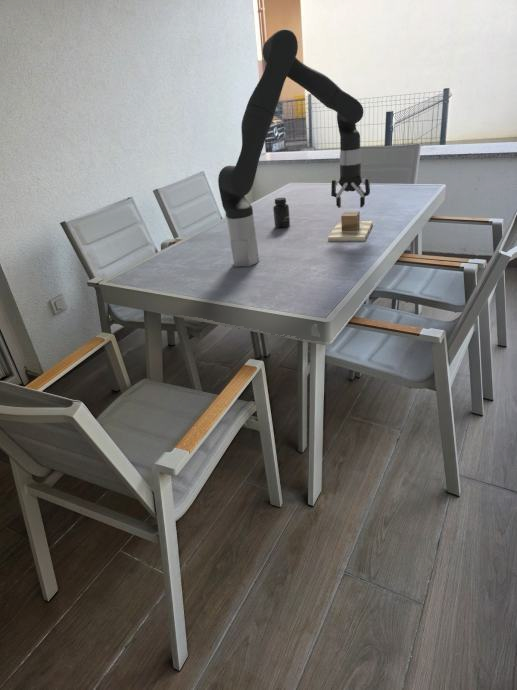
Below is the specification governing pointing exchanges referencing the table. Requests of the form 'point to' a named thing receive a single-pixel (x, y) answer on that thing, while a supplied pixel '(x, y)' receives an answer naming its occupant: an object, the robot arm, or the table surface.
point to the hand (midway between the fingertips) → (350, 207)
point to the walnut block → (350, 221)
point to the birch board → (351, 232)
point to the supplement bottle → (281, 213)
